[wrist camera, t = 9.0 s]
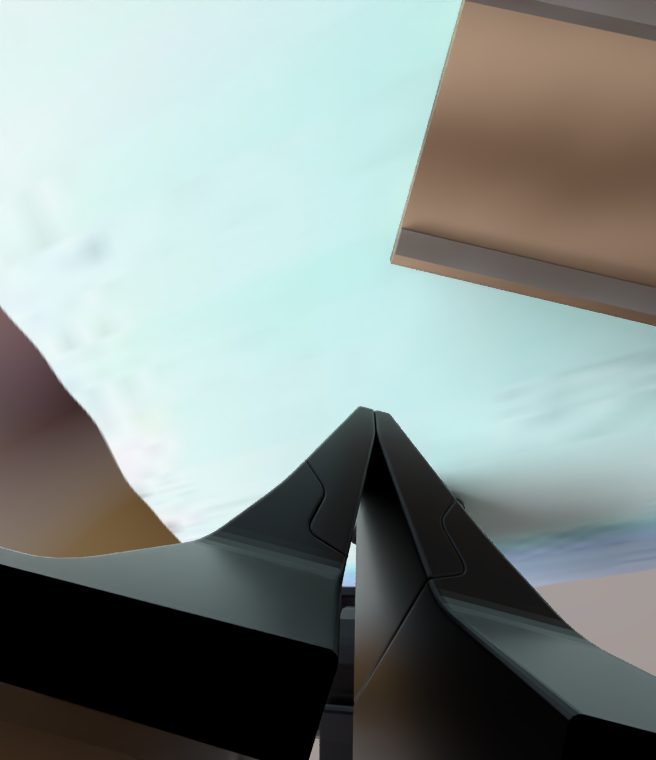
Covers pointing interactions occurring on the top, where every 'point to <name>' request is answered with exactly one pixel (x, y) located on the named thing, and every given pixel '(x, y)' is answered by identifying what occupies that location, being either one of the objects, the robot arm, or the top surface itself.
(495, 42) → the slider track
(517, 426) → the top surface
